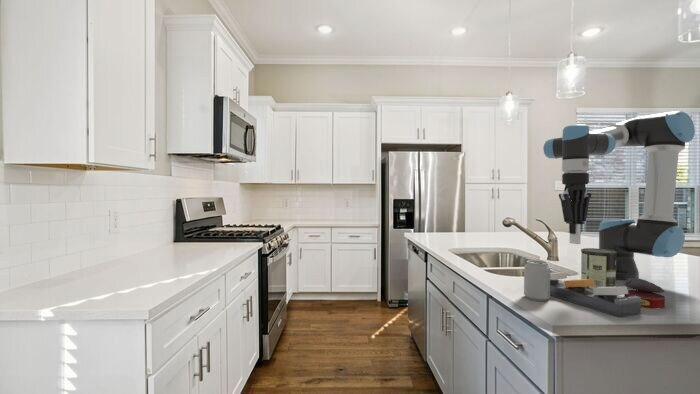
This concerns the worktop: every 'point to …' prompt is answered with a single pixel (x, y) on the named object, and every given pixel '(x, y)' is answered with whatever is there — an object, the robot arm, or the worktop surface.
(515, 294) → the worktop surface
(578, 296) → the dark grey tray
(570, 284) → the orange rectangular block
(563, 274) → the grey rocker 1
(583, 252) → the coffee can
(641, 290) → the canned food
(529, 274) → the can
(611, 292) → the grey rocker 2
